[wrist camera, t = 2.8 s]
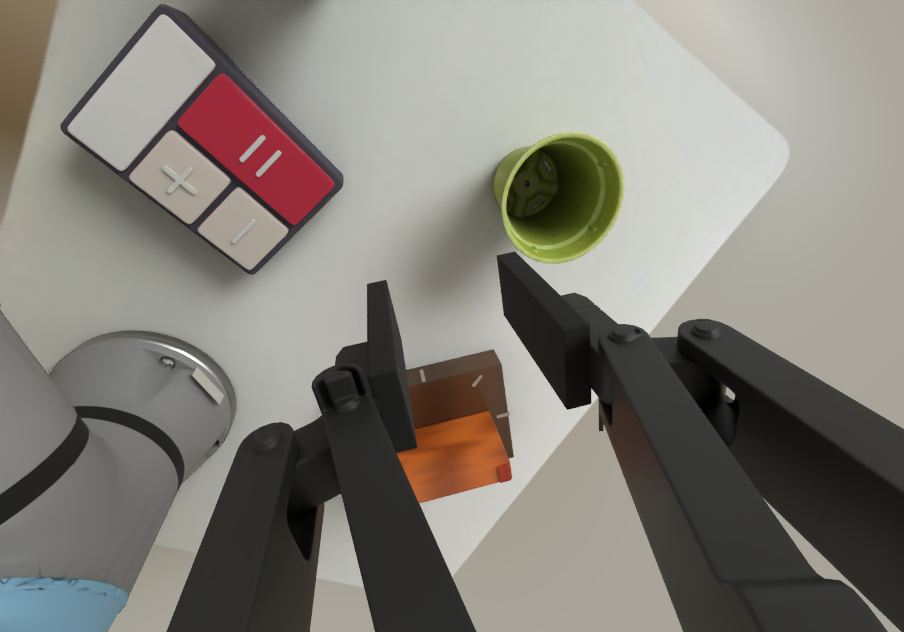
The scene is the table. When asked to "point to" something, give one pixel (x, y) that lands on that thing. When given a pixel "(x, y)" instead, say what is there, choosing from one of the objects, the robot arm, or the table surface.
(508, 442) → the dial panel
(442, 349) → the table surface
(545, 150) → the plant pot
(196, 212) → the calculator
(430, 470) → the pointer
